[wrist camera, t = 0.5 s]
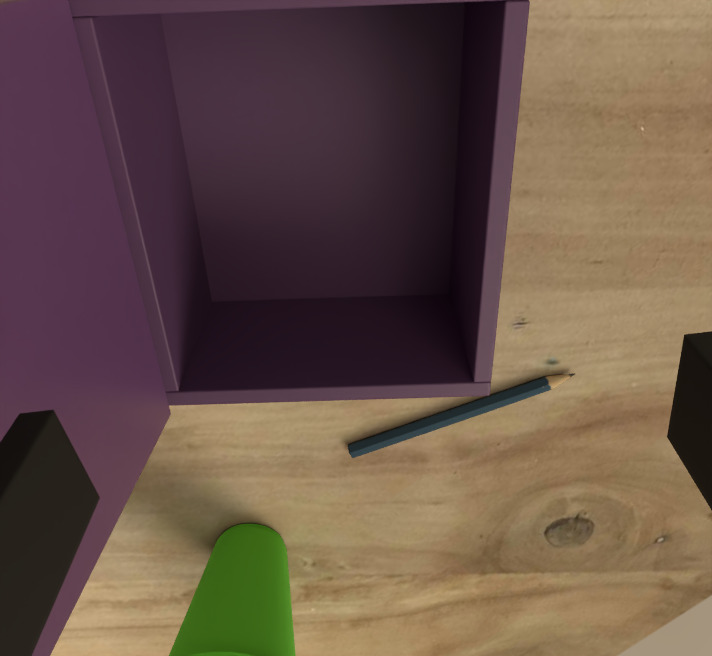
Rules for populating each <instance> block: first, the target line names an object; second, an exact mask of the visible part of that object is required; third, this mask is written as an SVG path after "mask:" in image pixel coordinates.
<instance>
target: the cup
mask: <svg viewBox="0 0 712 656" xmlns="http://www.w3.org/2000/svg"><path fill="white" fill-rule="evenodd" d="M169 656H295V645H294V633H293V620H292V608H291V596H290V584H289V572H288V559H287V550H286V546H285V544H284V542H283V539H282V538H281V537H280V535H279V534H278V533H277V532H275V531H274V530H272V529H270V528H268V527H266V526H263V525H259V524H240V525H236V526H233V527H231V528H229V529H227V530H226V531H225V532H224V533H223V534H222V535H221V536H220V537H219V539H218V540H217V542H216V544H215V546H214V549H213V551H212V554H211V556H210V558H209V561H208V563H207V566H206V568H205V570H204V573H203V575H202V578H201V580H200V582H199V585H198V587H197V590H196V592H195V594H194V597H193V599H192V602H191V604H190V606H189V609H188V611H187V614H186V616H185V618H184V621H183V623H182V626H181V628H180V631H179V633H178V635H177V638H176V640H175V643H174V645H173V647H172V650H171V652H170V655H169Z"/></svg>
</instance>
